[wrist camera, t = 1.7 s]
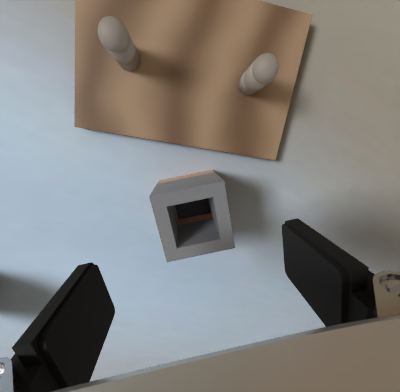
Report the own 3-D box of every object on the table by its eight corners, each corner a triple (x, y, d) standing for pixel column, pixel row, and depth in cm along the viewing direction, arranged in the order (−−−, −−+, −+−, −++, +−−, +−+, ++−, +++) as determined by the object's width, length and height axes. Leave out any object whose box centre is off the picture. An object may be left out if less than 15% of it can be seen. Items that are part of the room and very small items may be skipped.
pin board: (304, 22, 19) (360, -33, 13) (270, 159, 22) (302, 165, 16) (83, -35, 17) (27, -135, 11) (81, 127, 20) (36, 121, 14)
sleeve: (212, 170, 22) (224, 181, 16) (221, 219, 24) (234, 247, 17) (159, 180, 22) (149, 196, 16) (171, 230, 23) (166, 262, 17)
